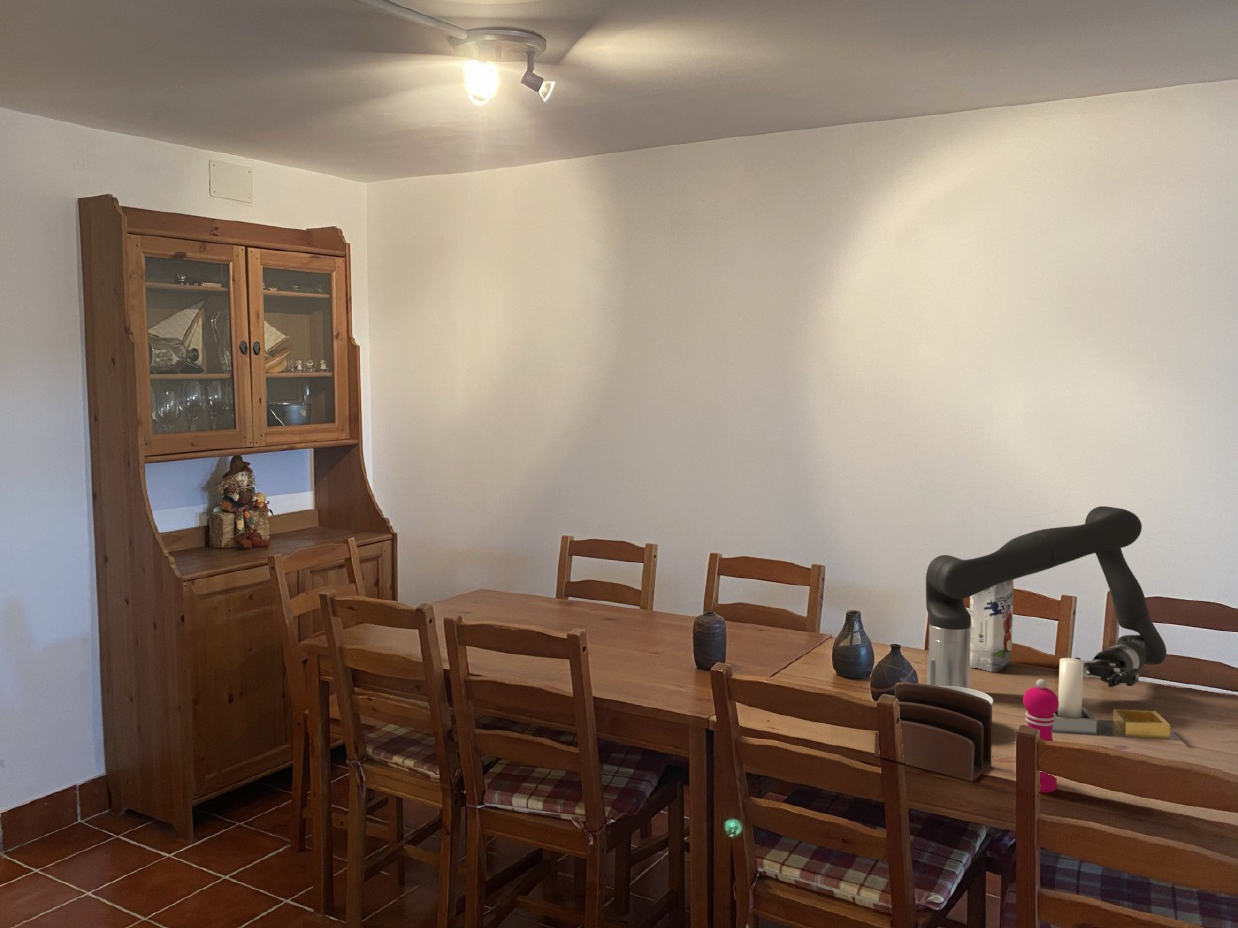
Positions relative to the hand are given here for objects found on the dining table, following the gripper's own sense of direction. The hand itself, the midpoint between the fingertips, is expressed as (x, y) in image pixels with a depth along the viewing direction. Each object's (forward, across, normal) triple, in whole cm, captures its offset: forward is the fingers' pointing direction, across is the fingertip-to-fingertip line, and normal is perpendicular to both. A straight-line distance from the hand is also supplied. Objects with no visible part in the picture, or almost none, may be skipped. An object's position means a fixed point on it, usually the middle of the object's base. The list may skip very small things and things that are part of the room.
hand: (1089, 678), depth 214 cm
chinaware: (+28, -17, +10) cm, 34 cm away
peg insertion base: (+6, +6, +9) cm, 13 cm away
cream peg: (+10, 0, +8) cm, 13 cm away
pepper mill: (+43, +7, +10) cm, 45 cm away
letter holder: (+46, -12, +10) cm, 49 cm away
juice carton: (-23, -33, +9) cm, 41 cm away
